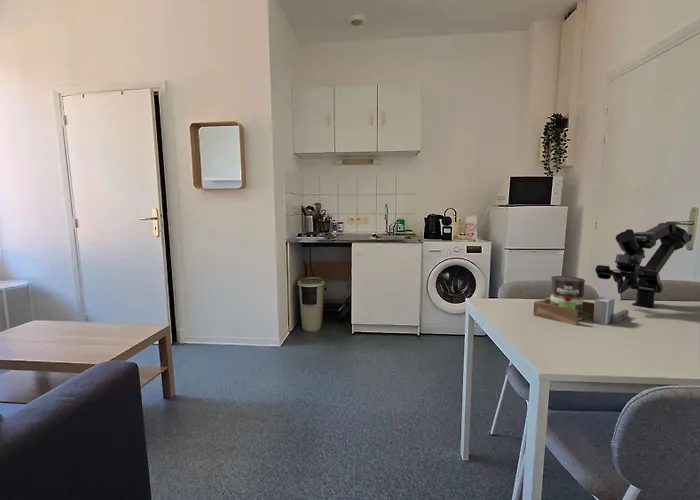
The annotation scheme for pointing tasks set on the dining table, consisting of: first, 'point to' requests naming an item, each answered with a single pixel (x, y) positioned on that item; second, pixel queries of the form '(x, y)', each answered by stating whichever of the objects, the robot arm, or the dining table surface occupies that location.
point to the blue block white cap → (603, 310)
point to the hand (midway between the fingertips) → (619, 292)
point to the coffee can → (568, 293)
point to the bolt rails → (619, 316)
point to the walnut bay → (561, 311)
